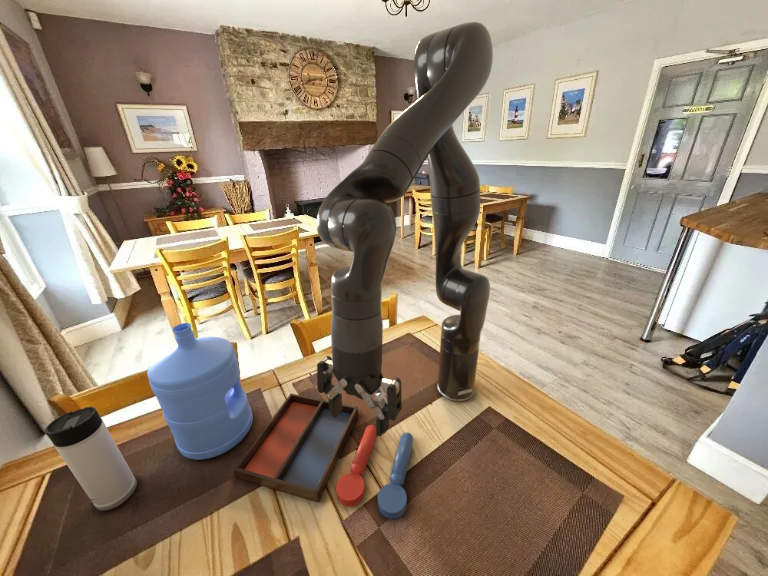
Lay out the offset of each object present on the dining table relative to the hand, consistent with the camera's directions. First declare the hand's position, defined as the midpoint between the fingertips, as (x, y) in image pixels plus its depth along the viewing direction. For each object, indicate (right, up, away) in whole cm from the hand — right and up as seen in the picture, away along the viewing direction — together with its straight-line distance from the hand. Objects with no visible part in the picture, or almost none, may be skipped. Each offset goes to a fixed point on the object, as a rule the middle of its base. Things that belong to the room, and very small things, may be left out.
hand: (358, 422), depth 51 cm
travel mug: (-46, -17, +8) cm, 50 cm away
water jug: (-34, -11, +20) cm, 41 cm away
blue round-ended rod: (+7, -15, +9) cm, 19 cm away
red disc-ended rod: (0, -14, +11) cm, 18 cm away
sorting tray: (-13, -12, +17) cm, 24 cm away
